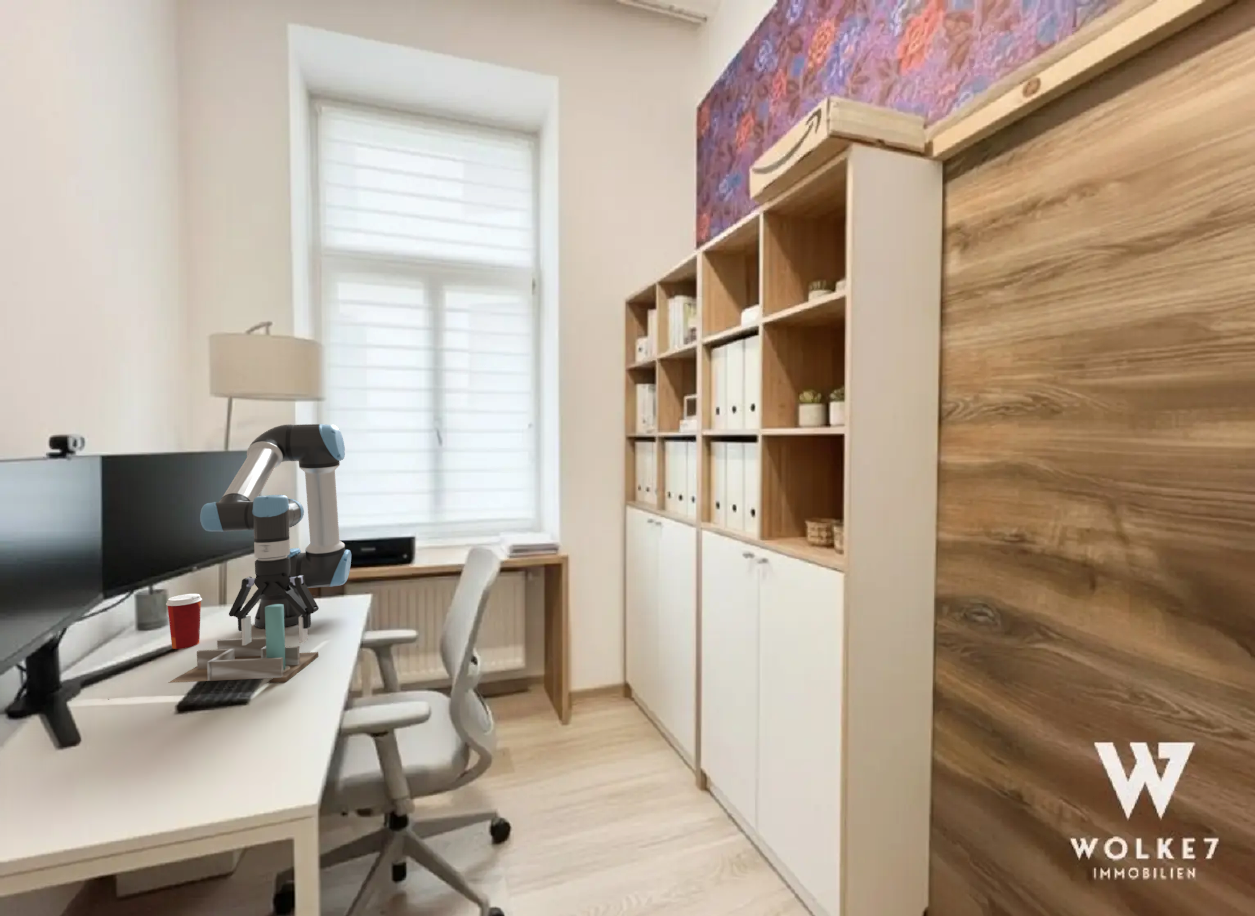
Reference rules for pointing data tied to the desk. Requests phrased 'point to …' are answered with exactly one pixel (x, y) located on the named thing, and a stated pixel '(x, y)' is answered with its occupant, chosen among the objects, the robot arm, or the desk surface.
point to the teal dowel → (275, 632)
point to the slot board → (245, 662)
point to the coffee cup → (184, 620)
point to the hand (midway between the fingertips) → (275, 642)
